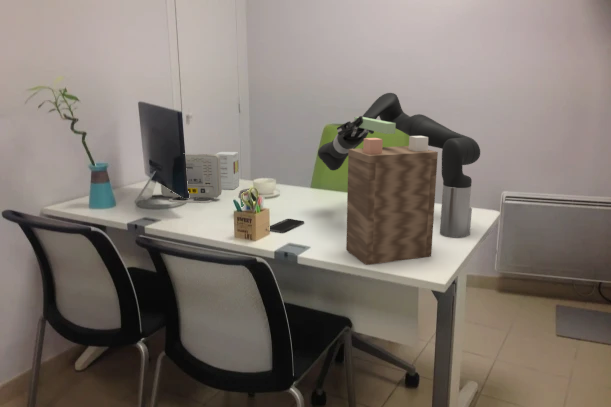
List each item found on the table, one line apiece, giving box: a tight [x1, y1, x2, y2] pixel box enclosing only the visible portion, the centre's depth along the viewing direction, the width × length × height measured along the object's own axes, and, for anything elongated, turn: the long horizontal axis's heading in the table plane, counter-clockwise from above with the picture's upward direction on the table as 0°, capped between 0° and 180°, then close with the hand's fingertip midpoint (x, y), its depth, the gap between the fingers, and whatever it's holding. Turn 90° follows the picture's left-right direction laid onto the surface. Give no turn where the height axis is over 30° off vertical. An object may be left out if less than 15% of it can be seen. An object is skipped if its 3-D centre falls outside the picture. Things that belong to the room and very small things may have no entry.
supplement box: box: [216, 151, 240, 190], centre depth 254 cm, size 10×9×17 cm
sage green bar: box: [353, 116, 396, 135], centre depth 166 cm, size 3×22×3 cm, turn 20°
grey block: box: [408, 135, 429, 151], centre depth 157 cm, size 4×4×4 cm
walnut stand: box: [345, 145, 439, 266], centre depth 161 cm, size 22×14×32 cm, turn 110°
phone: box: [269, 218, 305, 234], centre depth 192 cm, size 8×1×15 cm
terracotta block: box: [362, 137, 384, 154], centre depth 152 cm, size 4×4×4 cm
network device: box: [160, 153, 222, 204], centre depth 229 cm, size 26×9×20 cm, turn 84°
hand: (366, 118), depth 171 cm, fingers closed on sage green bar, 3 cm apart
